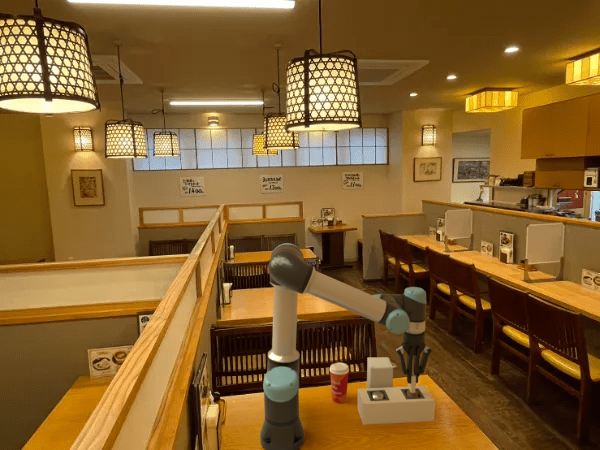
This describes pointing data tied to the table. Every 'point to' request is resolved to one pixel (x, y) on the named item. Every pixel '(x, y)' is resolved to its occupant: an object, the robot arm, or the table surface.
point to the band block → (395, 406)
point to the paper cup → (339, 382)
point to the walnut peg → (412, 394)
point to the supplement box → (379, 372)
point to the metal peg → (377, 395)
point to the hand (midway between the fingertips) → (412, 390)
